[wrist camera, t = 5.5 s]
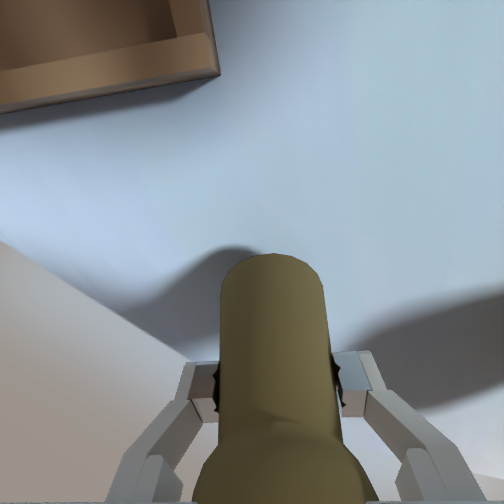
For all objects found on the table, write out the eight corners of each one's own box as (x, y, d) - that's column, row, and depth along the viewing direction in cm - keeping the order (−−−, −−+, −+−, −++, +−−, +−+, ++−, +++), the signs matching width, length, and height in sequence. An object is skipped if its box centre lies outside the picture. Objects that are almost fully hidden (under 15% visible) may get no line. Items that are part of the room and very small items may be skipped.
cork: (278, 345, 17) (301, 653, 7) (201, 304, 15) (103, 633, 6) (345, 290, 14) (511, 649, 5) (261, 232, 13) (266, 611, 3)
